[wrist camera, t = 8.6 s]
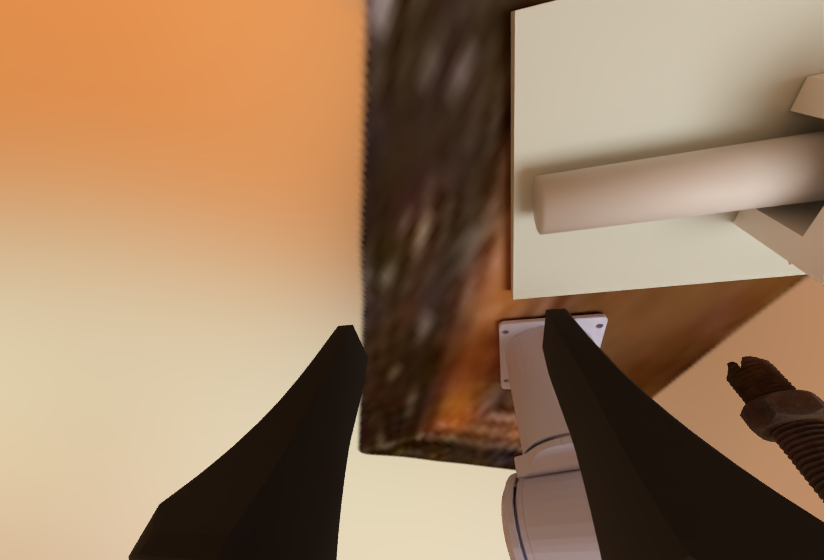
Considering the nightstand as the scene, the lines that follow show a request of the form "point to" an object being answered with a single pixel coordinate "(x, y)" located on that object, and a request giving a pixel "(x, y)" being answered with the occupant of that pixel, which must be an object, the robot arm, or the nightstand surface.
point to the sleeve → (794, 207)
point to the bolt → (782, 415)
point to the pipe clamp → (657, 139)
